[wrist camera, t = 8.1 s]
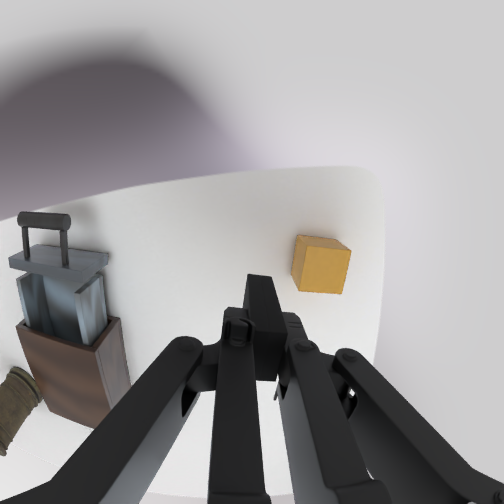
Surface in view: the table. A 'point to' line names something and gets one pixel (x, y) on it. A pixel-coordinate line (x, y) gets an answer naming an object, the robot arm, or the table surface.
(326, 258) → the block
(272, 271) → the table surface
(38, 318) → the drawer
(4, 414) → the container
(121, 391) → the cabinet
